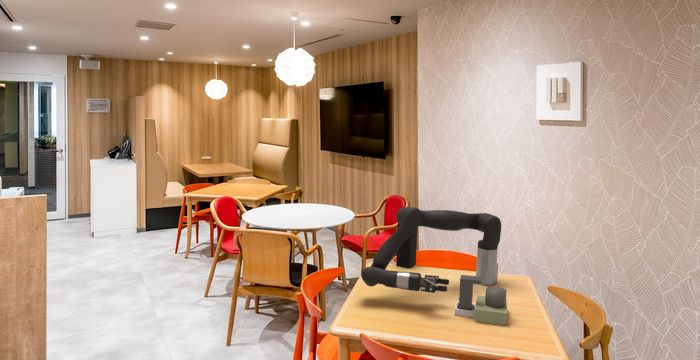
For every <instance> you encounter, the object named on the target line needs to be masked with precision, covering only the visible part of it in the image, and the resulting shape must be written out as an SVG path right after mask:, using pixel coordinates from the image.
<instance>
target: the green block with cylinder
mask: <svg viewBox="0 0 700 360" xmlns="http://www.w3.org/2000/svg"><path fill="white" fill-rule="evenodd" d="M453 315H454V316H458V317H467V318H474V322H475V323H482V324H483V323H484V324H491V325H498V326H507V324H508V321H507V320H508V299H507V290H506V289H505V288H503V287H500V286H487V287H486V288H485V295H478V294H477V295H476V299H475V303H472V311H471V310H463V309H459V301H456V302H455V304H454V314H453Z"/></svg>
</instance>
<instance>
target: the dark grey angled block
mask: <svg viewBox="0 0 700 360" xmlns="http://www.w3.org/2000/svg"><path fill="white" fill-rule="evenodd" d="M474 285H479V286H480V285H481V277H478V276H476V275H468V274H467V275H466V274H461V275H460V279H459V294H458V295H459V297H458V302H459V309H463V310H471V311H473V310H472V304H473V294H474V293H473V291H474ZM481 286H482V285H481Z"/></svg>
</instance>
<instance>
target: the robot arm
mask: <svg viewBox="0 0 700 360" xmlns="http://www.w3.org/2000/svg"><path fill="white" fill-rule="evenodd" d="M395 220H396V222H397V224H398V223H399V224H400V226H399V227H398V226H397V229H396V230H395V231H394V233H392V234H391V235H390V236H389V238H387V239H386V240H385V241H384V242H383V243H382V245H380V247H379V248H378V250H377V251H376V253H375V255H374V256H373V258H372V263H371V265H370V266H366V267H365V268H362V271H361V273H360V277H361V279H362V281H363V282H364V284H365V285H366V286H368V287H371V288H372V287H375V286H376V285H382V286H384V287H387V288H392V289H399V290H403V291H413V292H426V293H431V294H435V293H437V292H444V293H446V292H447V291H448V285H449V284H450V280H449V279H447V278H441V277H440V276H439V275H432V274H431V275H429V274H425V275H424V277H422V274H421V272H414V271H413V272H412V271H401V270H400V271H399V270H397V271H396V270H388V269H387V268H388V266H389V264H390V263H391V261H392V259H394V257H395V255H397V251H398V249H399V248H400V247H401V245H402V244H403V243H404V242H405V240H406V239H407V238H408V237H409V236H410V235H411V233H412V232H413V231H414V230H415V229H416V228H417V229H418V227H425V228H430V229H435V230H439V231H440V230H442V231H451V232H459V231H462V230H467V229H468V230H474V231H478V232H481V233H483V236H482V239H479V240H478V241H477V248H476V249H477V250H476V251H477V252H476V271H475V276H478V277H481V286H493V285H496V284H497V283H498V274H499V273H498V272H499V271H498V270H499V263H498V250H499V248H498V247H499V244H500V242H501V234H502V221H501V219H500V218H499V217H498V216H496V215H494V214H491V213H487V212H486V213H485V212H483V213H482V212H480V213H479V212H478V213H468V212H464V211H458V210H449V209H436V210H422V209H420V208H418V207H415V206H404V207H402V208H400V209H399V210H398V211H397V212H396V214H395Z"/></svg>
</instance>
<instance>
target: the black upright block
mask: <svg viewBox="0 0 700 360" xmlns="http://www.w3.org/2000/svg"><path fill="white" fill-rule="evenodd" d="M399 226H400V224H399V223H398V222H397V228H398V227H399ZM417 242H418V227H417V228H416V229H415V230H414V231H413V232H412V233H411V235H410V236H409V237H408V238H407V239H406V240H405V242H404V243H403V244H402V245H401V247H400V248H399V249H398V251H397V252H396V266H397V267H399V266H400V267H401V268H405V269H412V267H415V266H416V265H417V248H418V247H417V245H418V243H417Z"/></svg>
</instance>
